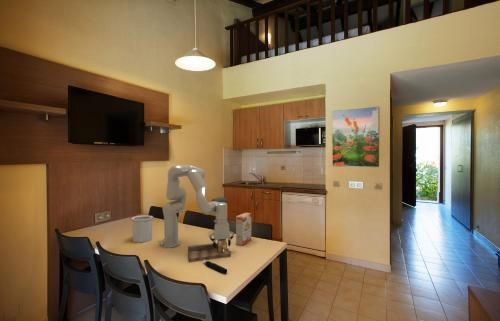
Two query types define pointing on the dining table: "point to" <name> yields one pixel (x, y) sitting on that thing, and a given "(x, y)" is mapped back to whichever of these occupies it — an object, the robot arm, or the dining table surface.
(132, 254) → the dining table surface
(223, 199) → the rubber mallet
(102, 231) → the dining table surface
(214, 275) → the dining table surface
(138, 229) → the utensil holder
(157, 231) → the dining table surface
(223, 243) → the gauge
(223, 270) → the utility knife
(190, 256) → the board
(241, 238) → the cracker box
